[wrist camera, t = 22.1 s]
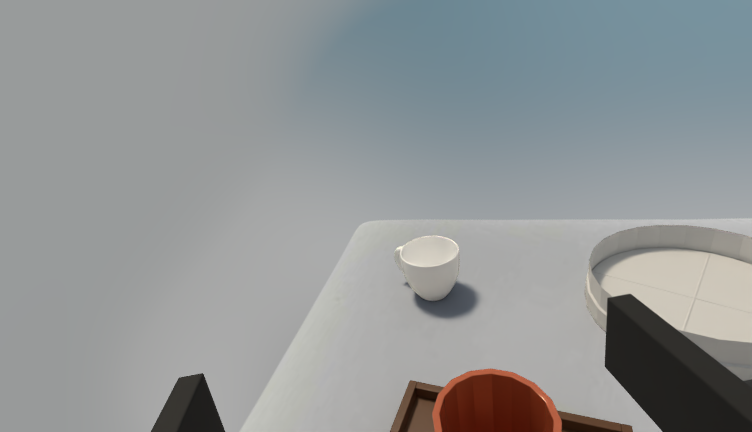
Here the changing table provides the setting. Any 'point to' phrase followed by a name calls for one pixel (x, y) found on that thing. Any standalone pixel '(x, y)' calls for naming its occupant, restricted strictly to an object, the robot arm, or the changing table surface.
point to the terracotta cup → (494, 405)
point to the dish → (682, 285)
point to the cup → (429, 265)
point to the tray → (419, 399)
